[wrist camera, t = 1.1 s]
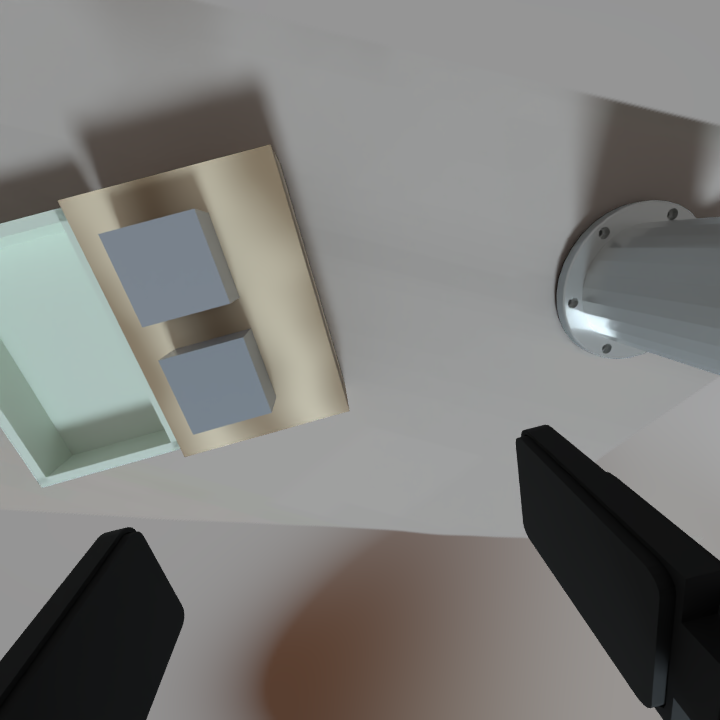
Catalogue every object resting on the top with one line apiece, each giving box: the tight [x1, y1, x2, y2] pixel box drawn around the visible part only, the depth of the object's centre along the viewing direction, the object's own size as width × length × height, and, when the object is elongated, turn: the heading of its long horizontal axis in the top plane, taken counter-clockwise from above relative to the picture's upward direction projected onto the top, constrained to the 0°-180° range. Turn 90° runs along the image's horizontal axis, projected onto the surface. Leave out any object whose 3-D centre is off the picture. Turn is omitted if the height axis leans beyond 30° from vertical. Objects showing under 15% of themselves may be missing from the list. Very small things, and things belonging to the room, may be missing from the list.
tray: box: [0, 208, 180, 488], centre depth 25 cm, size 11×17×4 cm, turn 15°
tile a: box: [158, 328, 276, 435], centre depth 22 cm, size 5×5×2 cm
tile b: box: [98, 209, 240, 327], centre depth 20 cm, size 5×5×2 cm
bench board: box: [58, 145, 349, 457], centre depth 24 cm, size 12×17×5 cm
